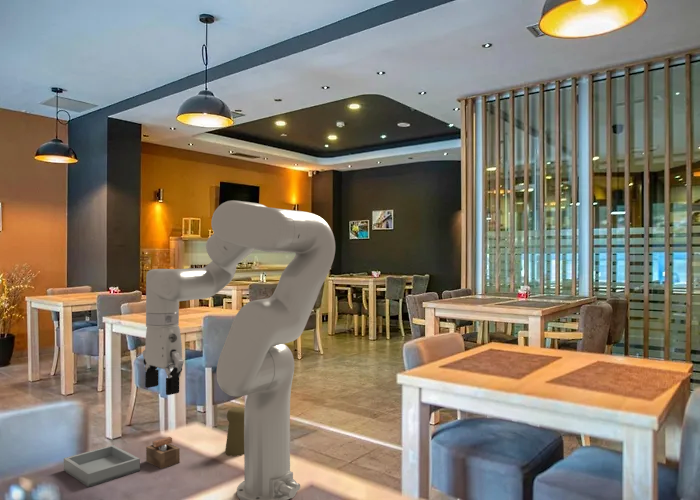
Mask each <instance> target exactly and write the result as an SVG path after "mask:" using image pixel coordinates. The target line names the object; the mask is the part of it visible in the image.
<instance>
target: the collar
mask: <svg viewBox="0 0 700 500" xmlns="http://www.w3.org/2000/svg"><path fill="white" fill-rule="evenodd" d="M180 451H181V449H180V447H179V446H175V445H173V444H172V443H170V444H167V451H164V452H162V451H160V450H159V447H154V446H153V441H152V444H151V445H147V446H146V447H145V453H146V454H145V457H146V458H145V459H146V460H145V461H146V462H147V463H148V464H150V465H153V466H155V467H157V468H159V469H161V470H162V469H164V468H167V467H168V468H169V467H171V466H174V465H177V464H180V462H181V460H180V455H181V454H180Z"/></svg>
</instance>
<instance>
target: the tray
mask: <svg viewBox="0 0 700 500" xmlns="http://www.w3.org/2000/svg"><path fill="white" fill-rule="evenodd" d="M63 471H64V472H65V473H67V474H68V475H70V476H71V477H73V478H74V479H76V480H77V481H78V482H80V483H82V485H84V486H86V487H88V488H90V487H93V486H96V485H99V484H103V483H106V482H109V481H112V480H115V479H118V478H121V477H124V476H128V475H131V474H134V473H137V472H140V471H141V458H140V457H137V456H136V455H134V454H132V453H130V452H128V451H126V450H124V449H122V448H120V447H118V446H116V445H114V444H111V445H108V446H105V447H101V448H97V449H93V450H90V451H85V452H82V453H79V454H75V455H71V456H69V457H64V458H63Z"/></svg>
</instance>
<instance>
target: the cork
mask: <svg viewBox="0 0 700 500" xmlns="http://www.w3.org/2000/svg"><path fill="white" fill-rule="evenodd" d="M244 412H245V407H242V406H237V407H236V406H235V407H232V408H229V409H228V410H227V411H226V418H227V421H228V427H227V434H226V441H225V442H226V444H225V451H224V453H225V455H226V456H230V455H232V456H231V457H238V456H237V455H240V456H243V455H242V454H244Z"/></svg>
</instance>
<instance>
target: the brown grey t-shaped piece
mask: <svg viewBox="0 0 700 500" xmlns="http://www.w3.org/2000/svg"><path fill="white" fill-rule="evenodd" d="M152 442H153V446H154V447H159V450H160V451H162V452H164V451H167V444H172V443H173V438H172V436H167V437H164V438H161V439H156V440H154V441H152Z"/></svg>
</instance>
